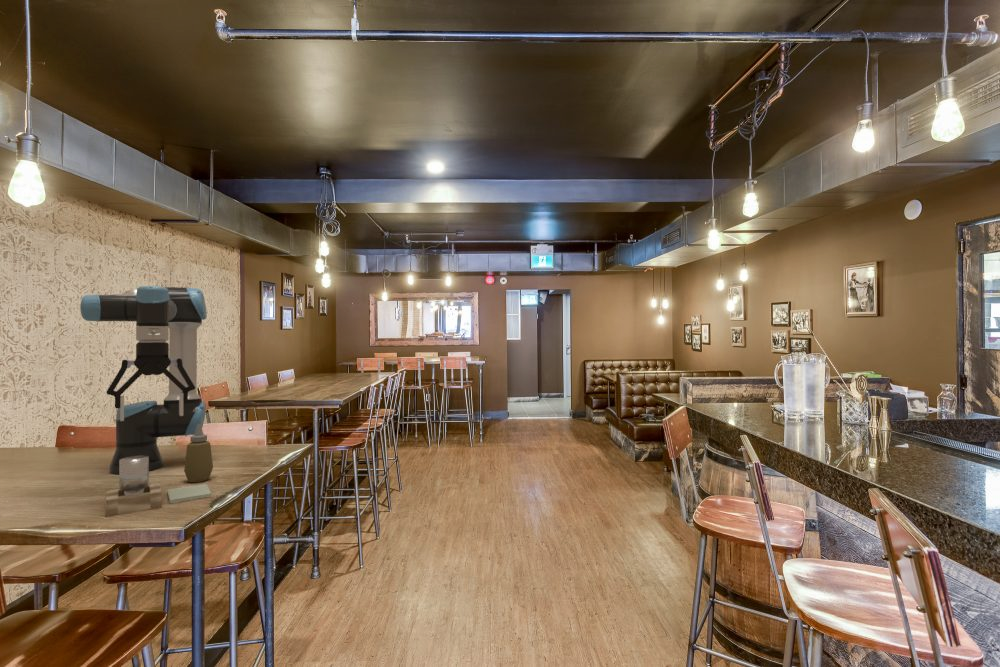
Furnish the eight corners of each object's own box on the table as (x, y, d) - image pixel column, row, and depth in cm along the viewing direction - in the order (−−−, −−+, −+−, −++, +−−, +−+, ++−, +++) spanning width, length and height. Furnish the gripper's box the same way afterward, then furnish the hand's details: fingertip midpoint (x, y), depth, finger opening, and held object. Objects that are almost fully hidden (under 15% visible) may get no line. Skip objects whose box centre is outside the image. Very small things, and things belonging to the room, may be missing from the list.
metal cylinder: (119, 505, 138) (119, 457, 139) (148, 500, 142) (148, 454, 142) (119, 511, 133) (119, 462, 133) (149, 506, 137) (149, 458, 137)
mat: (167, 493, 149) (167, 489, 149) (206, 486, 155) (206, 483, 155) (169, 503, 139) (169, 500, 139) (211, 496, 145) (211, 493, 145)
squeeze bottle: (178, 481, 161) (178, 425, 161) (203, 475, 168) (203, 421, 168) (193, 485, 157) (193, 427, 157) (218, 478, 164) (218, 423, 164)
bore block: (107, 504, 139) (107, 489, 139) (159, 496, 146) (159, 482, 146) (105, 516, 129) (105, 501, 129) (161, 507, 136) (161, 492, 136)
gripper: (95, 342, 130) (94, 424, 129) (206, 341, 145) (205, 414, 145) (95, 342, 135) (95, 420, 135) (201, 341, 151) (201, 412, 151)
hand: (152, 417), depth 140 cm, fingers open, 13 cm apart
